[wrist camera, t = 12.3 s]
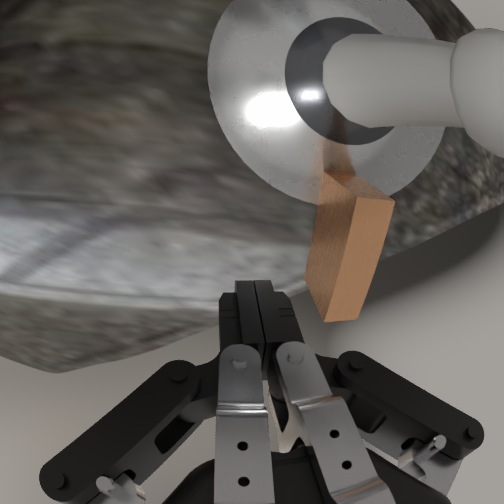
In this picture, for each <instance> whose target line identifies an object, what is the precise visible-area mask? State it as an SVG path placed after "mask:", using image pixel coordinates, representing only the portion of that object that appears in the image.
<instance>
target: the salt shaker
mask: <svg viewBox="0 0 504 504" xmlns="http://www.w3.org/2000/svg"><path fill="white" fill-rule="evenodd" d="M323 85H324V88H325V90H326V92H327V95H328V97H329V99H330V102H331V104H332V105H333V106H334V107H335V108H336V109H337V110H338V111H339V112H340V113H341V114H342V115H343V116H344V117H345V118H346V119H348V120H349V121H352V122H355V123H357V124H360V125H363V126H365V127H368V128H375V127H389V126H446V127H464V128H465V130H466V132H467V134H468V135H469V136H470V137H471V138H472V139H473V140H474V141H476V142H477V143H478V144H480V145H481V146H483V147H484V148H485V149H486V150H488V151H490V152H492V153H494V154H496V155H498V156H499V157H501V158H504V31H501V30H497V29H492V28H485V29H476V30H474V31H472V32H470V33H468V34H466V35H464V36H462V37H460V38H459V39H457V42H456V43H452V42H447V41H441V40H435V39H428V38H420V37H411V36H400V35H385V34H351V35H349V36H347V37H345V38H343V39H342V40H340V41H338V42H336V43H335V44H333V45H332V47H331V49H330V51H329V52H328V54H327V56H326V58H325V60H324V61H323Z"/></svg>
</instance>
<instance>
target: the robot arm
mask: <svg viewBox="0 0 504 504" xmlns="http://www.w3.org/2000/svg"><path fill="white" fill-rule="evenodd" d="M219 338H220V352H219V354H218V355H217V357H216V358H215V359H213V360H212V361H210V362H208V363H205V364H202V365H198V366H195V365H193V364H192V363H190V362H188V361H184V360H174V361H171V362H168V363H166V364H165V365H164V366H162V367H161V368H160V369H159V370H158V371H157V372H155V373H154V374H153V375H152V376H151V377H150V378H148V379H147V380H146V381H145V382H144V383H143V384H141V385H140V386H139V387H138V388H137V389H136V390H134V391H133V392H132V393H131V394H130V395H129V396H127V398H125V399H124V400H123V401H121V402H120V403H119V404H118V405H117V406H116V407H114V408H113V409H112V410H111V411H110V412H108V413H107V414H106V415H105V416H104V417H102V418H101V419H100V420H99V421H98V422H96V423H95V424H94V425H93V426H92V427H90V428H89V429H88V430H87V431H85V432H84V433H83V434H82V435H81V436H80V437H78V438H77V439H76V440H75V441H73V442H72V443H71V444H69V446H67V447H66V448H65V449H63V450H62V451H61V452H60V453H58V454H57V455H56V456H54V457H53V458H52V459H51V460H50V461H48V462H47V463H46V464H45V465H43V467H42V468H41V471H40V474H39V481H40V485H41V487H42V489H43V491H44V492H45V493H46V494H47V495H48V496H49V497H50V498H52V499H53V500H56V501H58V502H60V503H62V504H145V500H146V498H145V493H144V491H143V489H142V488H141V487H140V485H141V484H142V483H143V482H144V481H145V480H146V479H147V478H148V477H149V476H150V475H151V474H152V473H153V472H154V471H155V470H156V469H158V468H159V466H160V465H162V464H163V462H165V461H166V460H167V459H168V458H169V457H170V456H171V455H172V454H173V453H174V452H175V451H176V449H177V448H178V447H179V446H180V445H181V444H182V443H183V442H184V441H185V440H186V439H187V438H188V437H189V436H190V435H191V434H192V433H193V432H194V431H195V430H196V428H197V427H198V426H199V425H200V424H201V423H202V422H203V420H204V419H208V418H211V417H214V416H216V438H215V439H216V440H215V459H212V460H210V461H207V462H205V463H203V464H201V465H200V466H198V467H196V468H195V469H194V470H193V471H191V472H190V473H189V474H188V475H187V476H186V477H185V479H184V480H183V481H182V482H181V483H180V484H179V485H178V486H177V488H176V489H175V490H174V491H173V492H172V493H171V494H170V495H169V496H168V498H167V499H166V500H165V501H164V502H163V503H162V504H451V502H450V500H449V499H448V498H447V497H446V496H447V494H448V491H449V490H450V487H451V485H452V483H453V481H454V479H455V477H456V474H457V472H458V470H459V467H460V465H461V462H462V460H463V458H464V457H465V456H467V455H468V454H470V453H471V452H473V451H474V450H475V449H477V448H478V447H479V446H480V445H481V444H482V442H483V440H484V430H483V427H482V425H481V424H480V423H479V422H478V421H477V420H476V419H474V418H472V417H470V416H469V415H467V414H465V413H463V412H462V411H460V410H458V409H456V408H454V407H453V406H451V405H449V404H447V403H446V402H444V401H442V400H440V399H439V398H437V397H435V396H434V395H432V394H430V393H428V392H427V391H425V390H423V389H421V388H420V387H418V386H416V385H415V384H413V383H411V382H410V381H408V380H406V379H405V378H403V377H401V376H399V375H398V374H396V373H394V372H393V371H391V370H389V369H388V368H386V367H384V366H383V365H381V364H380V363H378V362H376V361H375V360H373V359H371V358H370V357H368V356H366V355H365V354H363V353H361V352H357V351H347V352H345V353H343V354H341V355H340V356H339V358H338V359H336V358H330V357H323V356H320V355H317V354H315V353H314V352H313V350H312V349H311V348H310V347H309V346H307V345H306V344H305V343H304V340H303V337H302V334H301V331H300V328H299V325H298V322H297V319H296V317H295V313H294V310H293V307H292V304H291V301H290V299H289V298H288V297H287V296H286V294H285V293H284V292H274V290H273V286H272V283H271V281H270V280H254V281H235V293H223V294H222V296H221V298H220V300H219ZM263 380H268V385H269V390H268V399H269V403H270V407H271V410H272V414H273V418H274V421H275V425H276V428H277V432H278V436H279V450H280V452H271V449H270V437H269V425H268V414H267V409H266V407H265V406H264V397H263V384H262V381H263ZM362 439H364V440H365V441H367V442H369V443H370V444H372V445H373V446H375V447H376V448H378V449H380V450H382V451H383V452H385V453H387V454H388V455H390V456H392V457H393V458H395V459H397V460H398V467H397V466H395V465H393V464H392V463H390V462H389V461H387V460H386V459H384V458H383V457H381V456H379V455H378V454H376V453H375V452H373V451H372V450H370V449H368V448H366V447H365V445H364V443H363V441H362Z"/></svg>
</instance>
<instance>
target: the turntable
mask: <svg viewBox="0 0 504 504" xmlns="http://www.w3.org/2000/svg"><path fill="white" fill-rule="evenodd" d="M351 34H385V35H400V36H411V37H420V38H428V39H435V37H434V35H433V33H432V32H431V30H430V28H429V27H428V25H427V24H426V22H425V21H424V19H423V18H422V17H421V15H420V14H419V13H418V12H417V11H416V10H415V8H414V7H413V6H412V5H411V4H410V3H409V2H408V1H407V0H233V1H232V2H231V3H230V5H229V6H228V7H227V8H226V10H225V11H224V13H223V15H222V17H221V18H220V20H219V22H218V24H217V26H216V29H215V32H214V35H213V38H212V41H211V44H210V51H209V57H208V84H209V91H210V97H211V101H212V104H213V108H214V111H215V114H216V117H217V119H218V122H219V124H220V126H221V128H222V130H223V132H224V134H225V136H226V138H227V139H228V141H229V142H230V144H231V145H232V147H233V149H234V150H235V151H236V153H237V154H238V155H239V156H240V157H241V159H242V160H243V161H244V162H245V163H246V164H247V165H248V166H249V167H250V168H251V169H252V170H253V171H254V172H255V173H256V174H257V175H258V176H259V177H261V178H262V179H263V180H265V181H266V182H268V183H269V184H270V185H272V186H273V187H275V188H277V189H278V190H280V191H282V192H284V193H286V194H287V195H290V196H292V197H295V198H297V199H300V200H302V201H305V202H309V203H313V204H317V205H318V207H317V213H316V219H315V224H314V230H313V235H312V241H311V246H310V251H309V256H308V261H307V266H306V271H305V276H304V279H305V281H306V284H307V286H308V288H309V290H310V292H311V294H312V296H313V299H314V301H315V303H316V305H317V307H318V309H319V312H320V314H321V316H322V319H323V321H324V322H333V321H343V320H352V319H357V318H358V316H359V313H360V310H361V308H362V305H363V303H364V300H365V297H366V295H367V292H368V289H369V286H370V283H371V280H372V278H373V275H374V272H375V269H376V266H377V263H378V260H379V257H380V253H381V250H382V247H383V244H384V240H385V237H386V234H387V230H388V227H389V223H390V219H391V216H392V212H393V208H394V204H395V201H394V200H393V199H392V198H390V197H389V196H390V195H392V194H394V193H395V192H397V191H399V190H401V189H402V188H403V187H405V186H406V185H407V184H409V183H410V182H411V181H412V180H413V179H414V178H415V177H416V176H417V175H418V174H419V173H420V172H421V171H422V170H423V169H424V168H425V166H426V165H427V164H428V163H429V161H430V160H431V158H432V156H433V155H434V153H435V151H436V149H437V147H438V145H439V143H440V141H441V138H442V136H443V132H444V129H445V126H389V127H375V128H368V127H365V126H363V125H360V124H357V123H355V122H352V121H349V120H348V119H346V118H345V117H344V116H343V115H342V114H341V113H340V112H339V111H338V110H337V109H336V108H335V107H334V106H333V105H332V104H331V102H330V99H329V97H328V95H327V92H326V90H325V88H324V85H323V61H324V60H325V58H326V56H327V54H328V52H329V51H330V49H331V47H332V45H333V44H335V43H336V42H338V41H340V40H342V39H343V38H345V37H347V36H349V35H351ZM435 40H436V39H435Z"/></svg>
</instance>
